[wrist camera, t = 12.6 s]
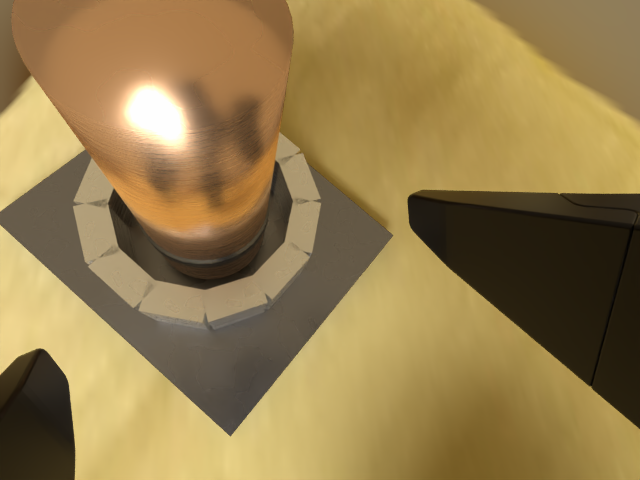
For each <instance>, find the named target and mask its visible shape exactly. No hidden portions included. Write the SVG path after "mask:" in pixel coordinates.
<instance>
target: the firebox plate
mask: <svg viewBox="0 0 640 480" xmlns="http://www.w3.org/2000/svg"><path fill="white" fill-rule="evenodd" d="M299 153H300V149H299V148H298V147H297V146H296V145H295V144H293V143H292V142H291V141H290V140H289V139H287V138H286V137H285V136H284V135H283V134H281V133H280V132H279V138H278V145H277V151H276V158H275V164H274V171H273V177H272V183H271V190H270V200H271V201H270V212H269V218H268V223H267V226H266V229H265V231H264V235H263V240H262V243H261V246H260V248H259V250H258V252H257V254H256V255H255V257H254V258H253V259H252V261H251V262H250V263H249V264H248V265H246V266H245V267H244V268H243V269H241V270H240V271H238V272H236V273H234V274H232V275H229V276H227V277H223V278H218V279H200V278H195V277H191V276H188V275H186V274H184V273H182V272H180V271H178V270H177V269H175V268H174V267H173V266H172V265H170V263H169V262H168V261H167V260H166V259H165V258H164V256H163V255H162V254H161V253H160V252H159V251H157V250H156V249H155V248H154V246H153V245H152V244H151V243H150V242H149V240H148V239H147V238H146V236H145V235H144V233H143V232H142V230H141V228H140V226H139V224H138V222H137V219H136V218H135V216H134V215H133V214H132V212H131V211H130V209H129V208H128V207H127V205H126V204H125V203H124V201H123V200H122V198H121V197H120V196H119V194H118V193H117V192H116V190H115V189H114V187H113V186H112V185H111V183H110V182H109V181H108V179H107V178H106V176H105V175H104V174H103V172H102V171H101V169H100V168H99V167H98V165H97V164H96V163H95V161H94V160H93V158H92V157H91V156H90V154H89V153H88V152H87V150H84V151H83V152H81V153H80V154H79V155H77V156H76V157H75V158H73V159H72V160H71V161H69V162H68V163H66V164H65V165H64V166H62V167H61V168H60V169H58V170H57V171H55V172H54V173H53V174H51V175H50V176H49V177H47V178H46V179H44V180H43V181H42V182H40V183H39V184H38V185H36V186H35V187H33V188H32V189H31V190H29V191H28V192H27V193H25V194H24V195H22V196H21V197H20V198H18V199H17V200H16V201H14V202H13V203H12V204H10V205H9V206H7V207H6V208H5V209H3V210H2V211H1V212H0V225H1V226H2V227H3V228H4V229H6V230H7V231H8V232H9V233H10V234H11V235H12V236H13V237H14V238H15V239H16V240H17V241H19V242H20V243H21V244H22V245H23V246H24V247H25V248H26V249H27V250H28V251H29V252H31V253H32V254H33V255H34V256H35V257H36V258H37V259H38V260H39V261H40V262H41V263H42V264H44V265H45V266H46V267H47V268H48V269H49V270H50V271H51V272H52V273H53V274H54V275H56V276H57V277H58V278H59V279H60V280H61V281H62V282H63V283H64V284H65V285H66V286H67V287H69V288H70V289H71V290H72V291H73V292H74V293H75V294H76V295H77V296H78V297H79V298H81V299H82V300H83V301H84V302H85V303H86V304H87V305H88V306H89V307H90V308H91V309H92V310H94V311H95V312H96V313H97V314H98V315H99V316H100V317H101V318H102V319H103V320H104V321H106V322H107V323H108V324H109V325H110V326H111V327H112V328H113V329H114V330H115V331H116V332H117V333H119V334H120V335H121V336H122V337H123V338H124V339H125V340H126V341H127V342H128V343H129V344H131V345H132V346H133V347H134V348H135V349H136V350H137V351H138V352H139V353H140V354H141V355H142V356H144V357H145V358H146V359H147V360H148V361H149V362H150V363H151V364H152V365H153V366H154V367H155V368H157V369H158V370H159V371H160V372H161V373H162V374H163V375H164V376H165V377H166V378H167V379H169V380H170V381H171V382H172V383H173V384H174V385H175V386H176V387H177V388H178V389H179V390H180V391H182V392H183V393H184V394H185V395H186V396H187V397H188V398H189V399H190V400H191V401H192V402H194V403H195V404H196V405H197V406H198V407H199V408H200V409H201V410H202V411H203V412H204V413H205V414H207V415H208V416H209V417H210V418H211V419H212V420H213V421H214V422H215V423H216V424H217V425H219V426H220V427H221V428H222V429H223V430H224V431H225V432H226V433H227V434H228V435H229V436H231V435H232V434H233V433H234V431H235V430H236V429H237V428H238V426H239V425H240V424H241V423H242V421H243V420H244V419H245V418H246V417H247V415H248V414H249V413H250V412H251V410H252V409H253V408H254V407H255V405H256V404H257V403H258V402H259V401H260V399H261V398H262V397H263V396H264V394H265V393H266V392H267V391H268V389H269V388H270V387H271V386H272V384H273V383H274V382H275V381H276V380H277V378H278V377H279V376H280V375H281V373H282V372H283V371H284V370H285V368H286V367H287V366H288V365H289V363H290V362H291V361H292V360H293V359H294V357H295V356H296V355H297V354H298V352H299V351H300V350H301V349H302V347H303V346H304V345H305V344H306V343H307V341H308V340H309V339H310V338H311V336H312V335H313V334H314V333H315V331H316V330H317V329H318V328H319V326H320V325H321V324H322V323H323V322H324V320H325V319H326V318H327V317H328V315H329V314H330V313H331V312H332V310H333V309H334V308H335V307H336V305H337V304H338V303H339V302H340V301H341V299H342V298H343V297H344V296H345V294H346V293H347V292H348V291H349V289H350V288H351V287H352V286H353V285H354V283H355V282H356V281H357V280H358V278H359V277H360V276H361V275H362V273H363V272H364V271H365V270H366V268H367V267H368V266H369V265H370V264H371V262H372V261H373V260H374V259H375V257H376V256H377V255H378V254H379V252H380V251H381V250H382V249H383V248H384V246H385V245H386V244H387V243H388V241H389V240H390V239H391V238H392V236H393V235H392V234H391V233H390V232H388V231H387V230H386V229H385V228H384V227H383V226H381V225H380V224H379V223H378V222H377V221H375V220H374V219H373V218H372V217H371V216H369V215H368V214H367V213H366V212H365V211H364V210H362V209H361V208H360V207H359V206H358V205H356V204H355V203H354V202H353V201H352V200H350V199H349V198H348V197H347V196H346V195H344V194H343V193H342V192H341V191H340V190H339V189H337V188H336V187H335V186H334V185H333V184H331V183H330V182H329V181H328V180H327V179H325V178H324V177H323V176H322V175H321V174H320V173H318V172H317V171H316V170H315V169H314V168H312V167H311V166H310V165H309V164H308V163H307V162H306V159H305V157H304V154H303V153H301V154H299Z"/></svg>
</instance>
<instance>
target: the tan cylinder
mask: <svg viewBox="0 0 640 480" xmlns="http://www.w3.org/2000/svg"><path fill="white" fill-rule="evenodd" d="M11 18H12V32H13V36H14V40H15V44H16V47H17V50H18V52H19V54H20V56H21V58H22V61H23V62H24V64H25V65H26V67H27V68H28V70H29V71H30V73H31V74H32V76H33V77H34V78H35V80H36V81H37V83H38V84H39V85H40V87H41V88H42V90H43V91H44V92H45V94H46V95H47V96H48V98H49V99H50V101H51V102H52V103H53V105H54V106H55V107H56V109H57V110H58V112H59V113H60V114H61V116H62V117H63V118H64V120H65V121H66V123H67V124H68V125H69V127H70V128H71V129H72V131H73V132H74V134H75V135H76V136H77V138H78V139H79V141H80V142H81V143H82V145H83V146H84V147H85V149H86V150H87V152H88V153H89V154H90V156H91V157H92V158H93V160H94V161H95V163H96V164H97V165H98V167H99V168H100V169H101V171H102V172H103V174H104V175H105V176H106V178H107V179H108V181H109V182H110V183H111V185H112V186H113V187H114V189H115V190H116V192H117V193H118V194H119V196H120V197H121V198H122V200H123V201H124V203H125V204H126V205H127V207H128V208H129V209H130V211H131V212H132V214H133V215H134V216H135V218H136V219H137V222H138V224H139V226H140V228H141V230H142V232H143V233H144V235H145V236H146V238H147V239H148V240H149V242H150V243H151V244H152V245H153V246H154V248H155V249H156V250H157V251H159V252H160V253H161V254H162V255H163V256H164V258H165V259H166V260H167V261H168V262H169V263H170V265H172V266H173V267H174V268H175V269H177V270H178V271H180V272H182V273H184V274H186V275H188V276H191V277H195V278H200V279H218V278H223V277H227V276H229V275H232V274H234V273H236V272H238V271H240V270H241V269H243V268H244V267H245V266H246V265H248V264H249V263H250V262H251V261H252V259H253V258H254V257H255V255H256V254H257V252H258V250H259V248H260V246H261V243H262V240H263V235H264V231H265V229H266V226H267V223H268V218H269V212H270V201H271V200H270V190H271V183H272V177H273V171H274V164H275V158H276V151H277V145H278V138H279V132H280V125H281V119H282V112H283V106H284V99H285V93H286V87H287V80H288V74H289V67H290V61H291V54H292V48H293V24H292V17H291V14H290V11H289V7H288V5H287V2H286V0H14V2H13V8H12V16H11Z"/></svg>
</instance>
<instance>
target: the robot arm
mask: <svg viewBox="0 0 640 480" xmlns="http://www.w3.org/2000/svg"><path fill="white" fill-rule="evenodd" d="M408 213H409V223H410V226H411V229H412V230H413V231H414V232H415V233H416V235H417V236H418V237H419V238H420V239H421V240H422V241H423V242H424V243H425V244H426V245H427V246H428V247H429V248H430V249H431V250H432V251H433V252H434V253H435V254H436V255H437V256H438V258H439V259H440V260H441V261H442V262H443V263H444V264H445V265H446V266H448V267H449V268H450V269H451V270H452V271H453V272H454V273H456V274H457V275H458V276H459V277H460V278H461V279H463V280H464V281H465V282H466V283H467V284H469V285H470V286H471V287H472V288H473V289H475V290H476V291H477V292H478V293H479V294H480V295H482V296H483V297H484V298H485V299H486V300H488V301H489V302H490V303H491V304H492V305H494V306H495V307H496V308H497V309H498V310H499V311H501V312H502V313H503V314H504V315H505V316H507V317H508V318H509V319H510V320H511V321H513V322H514V323H515V324H516V325H517V326H518V327H520V328H521V329H522V330H523V331H524V332H526V333H527V334H528V335H529V336H530V337H532V338H533V339H534V340H535V341H536V342H537V343H539V344H540V345H541V346H542V347H543V348H545V349H546V350H547V351H548V352H549V353H551V354H552V355H553V356H554V357H555V358H557V359H558V360H559V361H560V362H561V363H562V364H564V365H565V366H566V367H567V368H568V369H570V370H571V371H572V372H573V373H574V374H576V375H577V376H578V377H579V378H580V379H581V380H583V381H584V382H585V383H586V384H587V385H589V386H592V387H591V388H592V389H593V390H594V391H595V392H597V393H598V394H599V395H600V396H601V397H602V398H604V399H605V400H606V401H607V402H608V403H610V404H611V405H612V406H613V407H614V408H616V409H617V410H618V411H619V412H620V413H621V414H623V415H624V416H625V417H626V418H627V419H629V420H630V421H631V422H632V423H633V424H634V425H636V426H637V427H638V428H639V429H640V194H575V193H561V194H558V193H531V192H489V191H447V190H420V191H418V192H415V193H413V194H411V195H410V196H409V197H408ZM0 480H75V440H74V430H73V421H72V411H71V402H70V392H69V384H68V380H67V378H66V376H65V374H64V373H63V372H62V370H61V369H60V368H59V366H58V365H57V364H56V363H55V361H54V360H53V359H52V357H51V356H50V355H49V354H48V352H47V351H45V350H44V349H40V348H39V349H36V350H33V351H31V352H28V353H26V354H24V355H21V356H19V357H18V358H16V359H15V360H14V361H13V362H12V364H11V365H10V366H9V367H8V368H7V369H6V370H5V371H4V372H3V373H2V374H1V375H0Z"/></svg>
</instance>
